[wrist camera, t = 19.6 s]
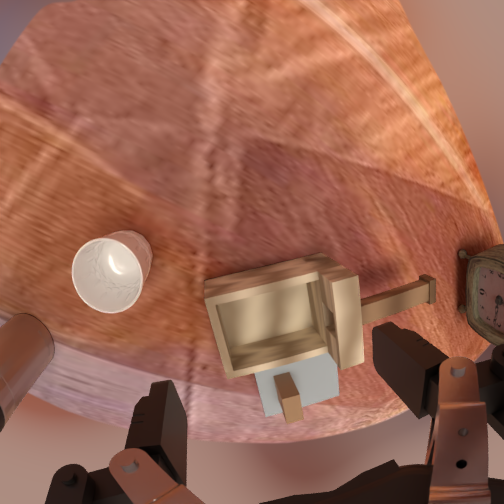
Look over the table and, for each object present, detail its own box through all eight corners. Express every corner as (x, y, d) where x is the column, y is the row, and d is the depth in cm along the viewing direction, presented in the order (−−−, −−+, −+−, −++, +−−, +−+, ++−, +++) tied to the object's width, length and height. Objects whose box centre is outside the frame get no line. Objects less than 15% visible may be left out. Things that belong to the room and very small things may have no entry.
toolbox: (223, 351, 44) (230, 400, 33) (204, 280, 41) (204, 314, 30) (330, 323, 45) (364, 362, 34) (321, 252, 43) (358, 275, 32)
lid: (264, 413, 48) (272, 441, 41) (251, 361, 45) (258, 387, 38) (337, 391, 49) (353, 416, 42) (332, 338, 46) (350, 360, 40)
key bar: (346, 323, 37) (355, 331, 34) (344, 299, 36) (353, 307, 33) (425, 296, 38) (435, 302, 35) (424, 274, 37) (435, 278, 35)
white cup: (169, 260, 40) (158, 284, 30) (126, 295, 40) (105, 327, 31) (131, 212, 38) (108, 221, 28) (89, 250, 38) (58, 270, 29)
